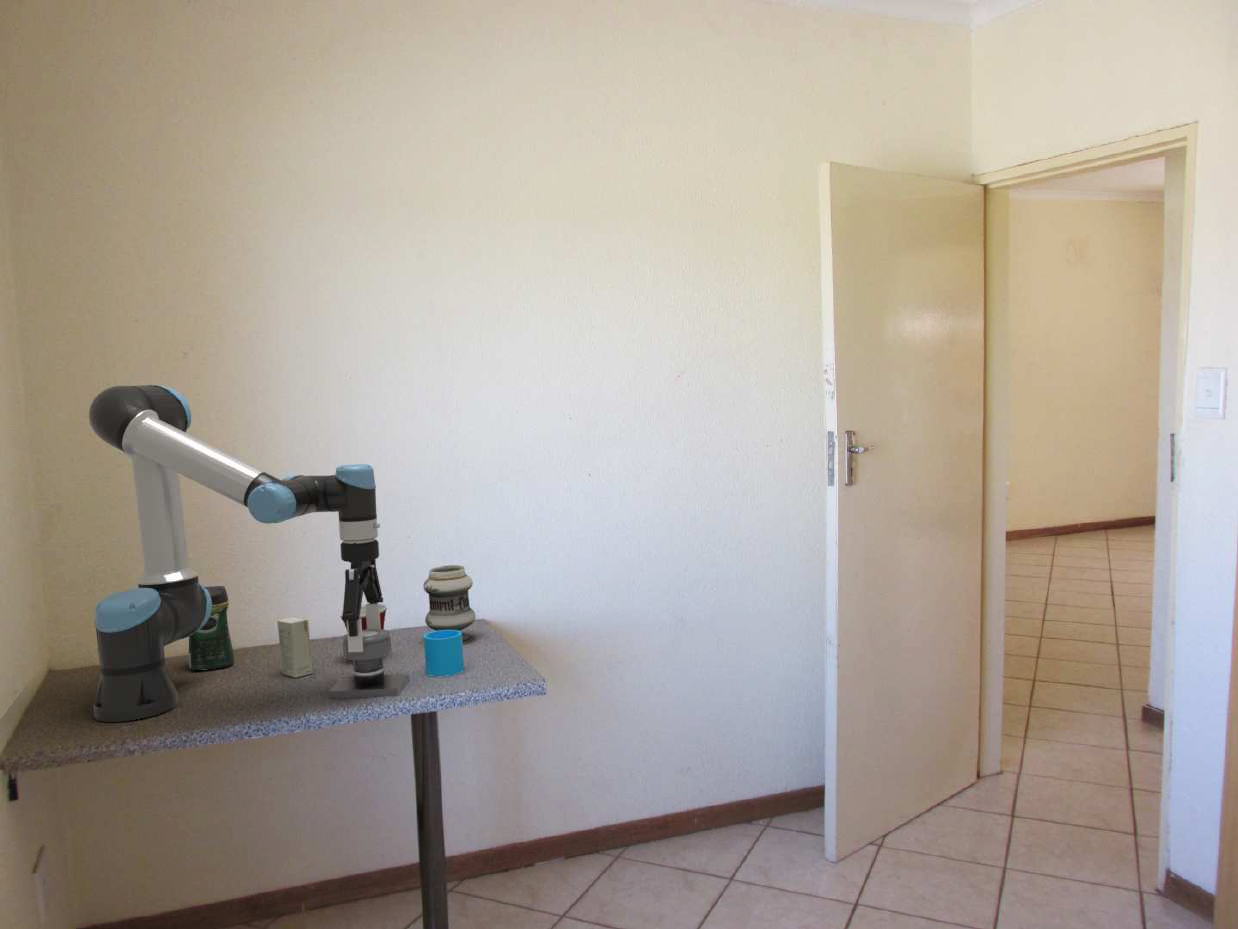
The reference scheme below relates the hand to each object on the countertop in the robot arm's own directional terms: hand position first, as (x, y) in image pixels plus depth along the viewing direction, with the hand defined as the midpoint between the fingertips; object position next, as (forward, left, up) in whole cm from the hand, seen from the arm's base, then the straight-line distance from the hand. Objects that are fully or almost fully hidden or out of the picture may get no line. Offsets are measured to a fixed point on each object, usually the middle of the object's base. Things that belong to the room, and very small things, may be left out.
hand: (365, 642), depth 200 cm
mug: (+13, +13, -10) cm, 21 cm away
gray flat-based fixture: (0, 0, -10) cm, 10 cm away
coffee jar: (-43, +23, -10) cm, 50 cm away
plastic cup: (-7, +23, -10) cm, 26 cm away
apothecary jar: (+10, +37, -10) cm, 40 cm away
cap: (0, 0, -2) cm, 2 cm away
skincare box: (-20, +14, -10) cm, 26 cm away
